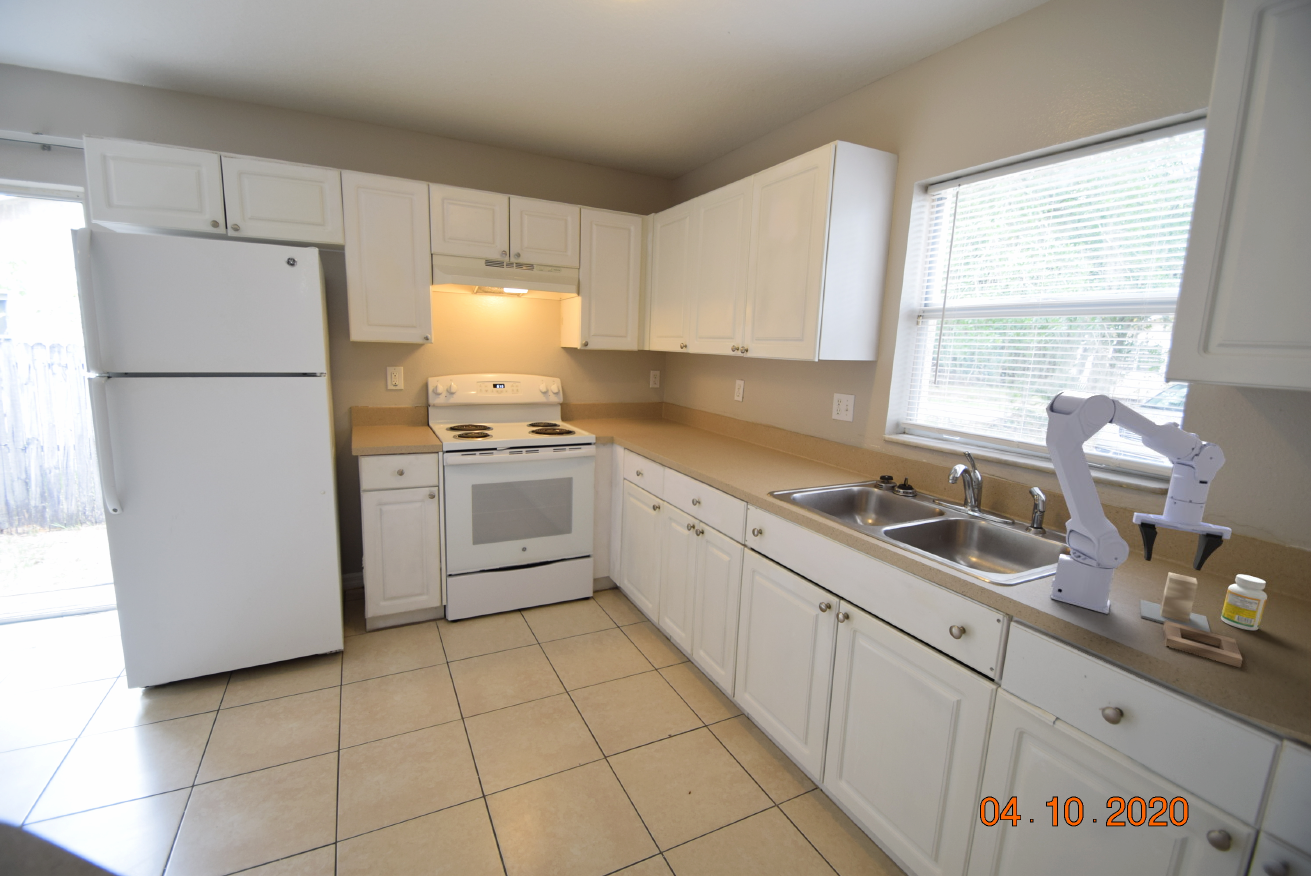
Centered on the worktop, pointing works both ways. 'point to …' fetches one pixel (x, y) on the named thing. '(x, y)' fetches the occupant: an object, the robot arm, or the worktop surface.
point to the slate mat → (1153, 613)
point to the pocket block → (1224, 654)
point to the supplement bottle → (1245, 603)
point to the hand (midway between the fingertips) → (1171, 564)
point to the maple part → (1178, 597)
